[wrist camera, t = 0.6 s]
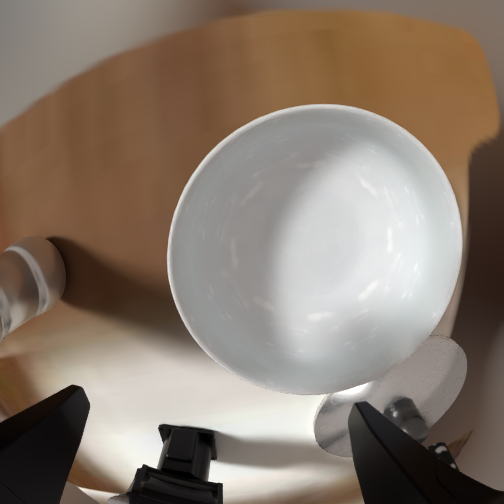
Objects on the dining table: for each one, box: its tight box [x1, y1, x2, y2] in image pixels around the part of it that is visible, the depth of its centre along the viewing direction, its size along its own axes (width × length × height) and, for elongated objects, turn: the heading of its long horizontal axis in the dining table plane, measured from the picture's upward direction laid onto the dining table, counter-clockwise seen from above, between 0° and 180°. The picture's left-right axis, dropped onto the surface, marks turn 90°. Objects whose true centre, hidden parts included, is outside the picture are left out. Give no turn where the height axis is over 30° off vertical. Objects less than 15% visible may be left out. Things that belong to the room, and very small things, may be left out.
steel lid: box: [313, 335, 467, 457], centre depth 23 cm, size 20×20×6 cm
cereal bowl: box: [167, 104, 463, 395], centre depth 17 cm, size 17×17×7 cm
